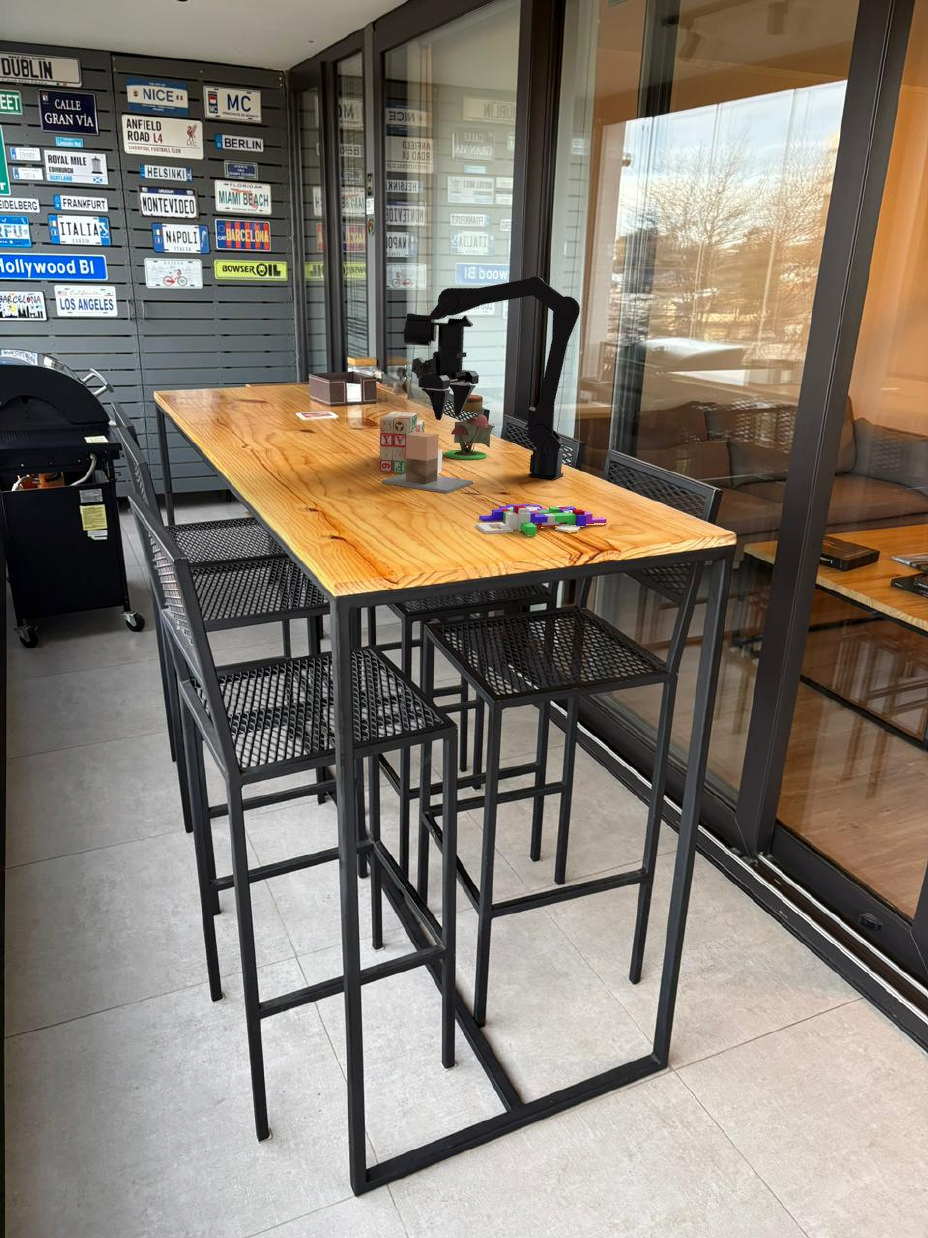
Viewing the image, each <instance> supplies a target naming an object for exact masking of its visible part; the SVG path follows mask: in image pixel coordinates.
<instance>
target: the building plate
mask: <svg viewBox="0 0 928 1238" xmlns="http://www.w3.org/2000/svg"><path fill="white" fill-rule="evenodd" d="M381 484H384V485H392V486H396V487H397V486H398V487H405V488H410V489H419V490H424V491H430V492H431V491H432V492H435V493H436V492H438V493H443V494H448V493H451V492H454V491H457V490H460V489H462V488H464V487H468V486H470V485H473V484H474V481H473V480H469V479H461V478H455V477H449V476H443V475H437V481H434V482H431V483H428V484H421V483H414V482H408V481H406V473H404V474H403V473H400V474H399V475H394V476H392V477H387V478H385V479H382V481H381Z"/></svg>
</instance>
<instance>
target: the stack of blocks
mask: <svg viewBox="0 0 928 1238" xmlns="http://www.w3.org/2000/svg"><path fill="white" fill-rule="evenodd" d="M379 428H380V429H379V472H381V473H391V474H392V473H393V474H404V473H406V445H407V434H411V433H415V432H424V433H425V420H422V419H418V413H417V412H405V411H391V412H389V413H388V414H385V416H383V417H381V418H380V420H379Z"/></svg>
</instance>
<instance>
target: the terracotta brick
mask: <svg viewBox="0 0 928 1238" xmlns="http://www.w3.org/2000/svg"><path fill="white" fill-rule="evenodd" d="M439 437H440V435H439V433H430V432H425V431H424V432H415V433H411V434H407V445H406V458H409V459H416V460H424V461H428V460H431V459H435V458H438V450H439V439H440V438H439Z"/></svg>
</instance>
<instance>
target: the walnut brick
mask: <svg viewBox="0 0 928 1238" xmlns="http://www.w3.org/2000/svg"><path fill="white" fill-rule="evenodd" d="M437 471H438V458H435V459H431V460H428V461H424V460H416V459H409V458H406V481H408V482H414V483H421V484H428V483H431V482H434V481H437V476H438V474H437Z"/></svg>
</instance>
